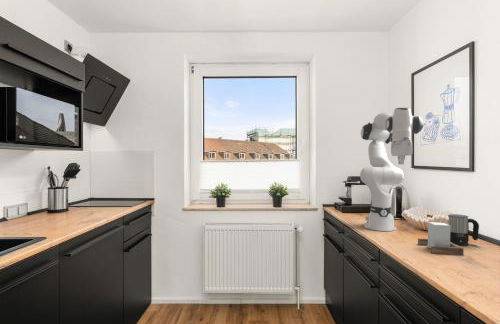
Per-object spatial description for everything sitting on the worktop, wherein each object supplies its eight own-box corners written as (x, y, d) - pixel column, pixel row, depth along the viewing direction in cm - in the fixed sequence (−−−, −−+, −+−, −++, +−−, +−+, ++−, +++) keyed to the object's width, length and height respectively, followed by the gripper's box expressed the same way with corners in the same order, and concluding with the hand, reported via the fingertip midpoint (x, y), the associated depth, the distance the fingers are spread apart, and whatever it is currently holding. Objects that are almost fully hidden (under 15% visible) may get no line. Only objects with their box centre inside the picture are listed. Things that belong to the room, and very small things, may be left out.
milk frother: (454, 245, 160) (455, 216, 160) (435, 237, 176) (436, 211, 176) (482, 246, 160) (482, 217, 160) (460, 238, 176) (461, 212, 176)
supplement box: (450, 251, 149) (451, 225, 148) (433, 251, 149) (434, 224, 149) (442, 247, 156) (443, 222, 156) (427, 246, 157) (427, 221, 157)
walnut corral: (417, 244, 161) (418, 238, 161) (445, 245, 160) (445, 239, 160) (432, 253, 145) (432, 247, 145) (463, 254, 144) (463, 248, 144)
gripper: (416, 136, 153) (415, 164, 153) (400, 139, 173) (400, 164, 173) (403, 136, 154) (402, 164, 154) (389, 139, 174) (388, 164, 174)
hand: (401, 164), depth 164 cm, fingers closed
